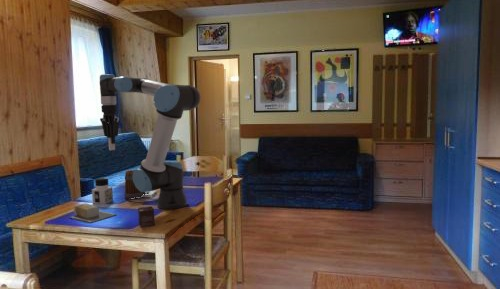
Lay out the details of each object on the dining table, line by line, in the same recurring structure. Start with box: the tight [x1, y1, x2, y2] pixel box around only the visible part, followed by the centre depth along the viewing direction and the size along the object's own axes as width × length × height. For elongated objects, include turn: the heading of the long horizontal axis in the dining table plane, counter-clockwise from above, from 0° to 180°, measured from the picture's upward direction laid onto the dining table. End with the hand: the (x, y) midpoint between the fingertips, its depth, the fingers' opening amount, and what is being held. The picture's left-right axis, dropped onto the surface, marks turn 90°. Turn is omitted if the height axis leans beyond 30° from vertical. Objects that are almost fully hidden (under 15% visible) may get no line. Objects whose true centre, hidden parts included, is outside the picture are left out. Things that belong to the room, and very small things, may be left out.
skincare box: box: [73, 202, 100, 218], centre depth 182 cm, size 6×4×12 cm
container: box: [91, 177, 114, 205], centre depth 208 cm, size 8×8×13 cm
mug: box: [124, 169, 150, 200], centre depth 217 cm, size 16×11×15 cm
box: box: [137, 205, 156, 228], centre depth 167 cm, size 6×6×7 cm
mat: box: [68, 210, 117, 224], centre depth 181 cm, size 16×14×1 cm
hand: (112, 149), depth 202 cm, fingers closed
